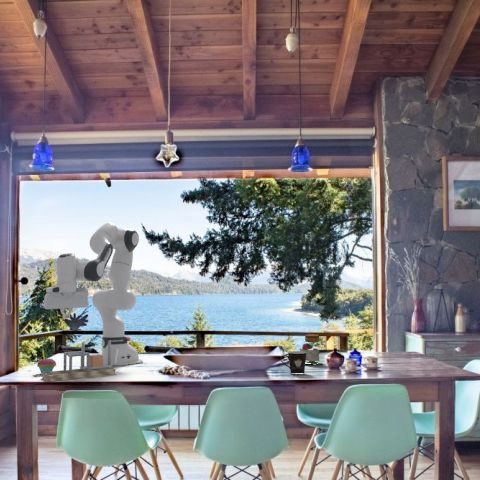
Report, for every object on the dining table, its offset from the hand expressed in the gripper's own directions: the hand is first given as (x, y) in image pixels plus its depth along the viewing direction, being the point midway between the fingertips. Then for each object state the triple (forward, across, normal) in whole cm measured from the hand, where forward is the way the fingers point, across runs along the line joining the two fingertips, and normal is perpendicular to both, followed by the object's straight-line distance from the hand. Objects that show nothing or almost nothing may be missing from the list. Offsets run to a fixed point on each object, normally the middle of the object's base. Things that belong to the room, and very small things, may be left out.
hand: (66, 318), depth 278 cm
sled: (+24, -13, +3) cm, 27 cm away
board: (+27, -5, +3) cm, 28 cm away
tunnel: (+24, -4, +3) cm, 25 cm away
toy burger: (+28, -118, +35) cm, 126 cm away
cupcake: (+27, +5, -14) cm, 31 cm away
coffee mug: (+28, -92, +53) cm, 110 cm away
